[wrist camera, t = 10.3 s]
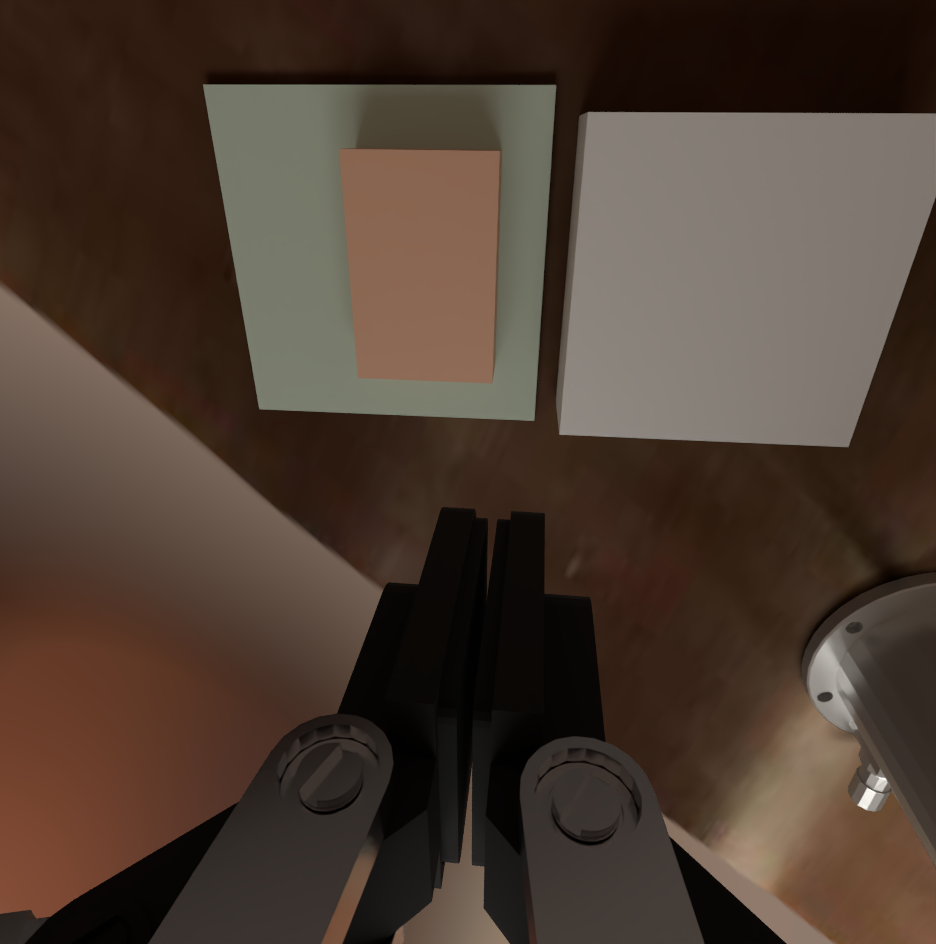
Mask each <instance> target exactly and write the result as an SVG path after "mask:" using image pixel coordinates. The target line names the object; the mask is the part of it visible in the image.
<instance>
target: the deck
mask: <svg viewBox="0 0 936 944" xmlns="http://www.w3.org/2000/svg"><path fill="white" fill-rule="evenodd" d="M935 197H936V114H913V113H693V112H587V113H585V114H582V115H580V116H579V126H578V138H577V151H576V163H575V175H574V187H573V199H572V211H571V223H570V235H569V247H568V259H567V271H566V283H565V295H564V307H563V319H562V331H561V343H560V355H559V367H558V379H557V391H556V406H557V416H558V426H559V434H560V435H583V436H606V437H628V438H651V439H674V440H697V441H720V442H742V443H765V444H788V445H811V446H834V447H848V446H849V444H850V441H851V438H852V435H853V432H854V429H855V426H856V423H857V421H858V418H859V415H860V412H861V409H862V406H863V403H864V401H865V398H866V395H867V392H868V389H869V386H870V383H871V381H872V378H873V375H874V372H875V369H876V366H877V363H878V360H879V358H880V355H881V352H882V349H883V346H884V343H885V340H886V338H887V335H888V332H889V329H890V326H891V323H892V320H893V318H894V315H895V312H896V309H897V306H898V303H899V300H900V298H901V295H902V292H903V289H904V286H905V283H906V280H907V277H908V275H909V272H910V269H911V266H912V263H913V260H914V257H915V255H916V252H917V249H918V246H919V243H920V240H921V237H922V235H923V232H924V229H925V226H926V223H927V220H928V217H929V214H930V212H931V209H932V206H933V203H934V200H935Z"/></svg>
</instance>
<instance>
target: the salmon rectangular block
mask: <svg viewBox="0 0 936 944" xmlns="http://www.w3.org/2000/svg"><path fill="white" fill-rule="evenodd" d="M339 155H340V167H341V179H342V191H343V203H344V216H345V228H346V240H347V252H348V264H349V276H350V288H351V301H352V313H353V325H354V337H355V349H356V361H357V373H358V378H370V379H394V380H418V381H443V382H467V383H491V384H492V383H493V376H494V370H495V356H496V326H497V296H498V266H499V237H500V207H501V177H502V150H474V149H398V148H346V149H339Z"/></svg>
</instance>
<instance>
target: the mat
mask: <svg viewBox="0 0 936 944" xmlns="http://www.w3.org/2000/svg"><path fill="white" fill-rule="evenodd" d="M203 87H204V93H205V98H206V104H207V110H208V116H209V122H210V127H211V133H212V139H213V145H214V150H215V156H216V162H217V168H218V173H219V179H220V185H221V191H222V196H223V202H224V208H225V214H226V219H227V225H228V231H229V237H230V242H231V248H232V254H233V260H234V265H235V271H236V277H237V283H238V288H239V294H240V300H241V306H242V311H243V317H244V323H245V329H246V334H247V340H248V346H249V352H250V357H251V363H252V369H253V375H254V380H255V386H256V392H257V398H258V403H259V409H269V410H293V411H317V412H340V413H364V414H387V415H411V416H435V417H458V418H482V419H505V420H529V421H534V416H535V401H536V386H537V371H538V355H539V340H540V325H541V310H542V294H543V279H544V264H545V249H546V233H547V218H548V203H549V188H550V172H551V157H552V142H553V127H554V111H555V96H556V85H203ZM346 148H398V149H474V150H502V177H501V207H500V237H499V266H498V296H497V326H496V356H495V370H494V376H493V383H492V384H491V383H467V382H443V381H418V380H394V379H370V378H358V373H357V361H356V349H355V337H354V325H353V313H352V301H351V288H350V276H349V264H348V252H347V240H346V228H345V216H344V203H343V191H342V179H341V167H340V155H339V149H346Z"/></svg>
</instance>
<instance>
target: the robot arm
mask: <svg viewBox="0 0 936 944" xmlns="http://www.w3.org/2000/svg"><path fill="white" fill-rule="evenodd" d="M487 544H488V519H487V518H476V511H475V509H467V508H450V507H442V508H441V511H440V514H439V518H438V521H437V524H436V528H435V531H434V534H433V538H432V541H431V544H430V548H429V551H428V555H427V558H426V561H425V565H424V568H423V571H422V575H421V578H420V581H419V585H417V584H403V583H390V582H389V583H388V584H387V585H386V586H385V588H384V590H383V592H382V595H381V598H380V601H379V603H378V606H377V609H376V611H375V614H374V617H373V620H372V622H371V625H370V627H369V630H368V633H367V635H366V638H365V641H364V643H363V646H362V649H361V651H360V654H359V657H358V659H357V662H356V665H355V667H354V670H353V673H352V675H351V678H350V681H349V684H348V686H347V689H346V692H345V694H344V697H343V699H342V702H341V705H340V707H339V710H338V713H337V714H332V715H327V716H320V717H317V718H314V719H312V720H310V721H307V722H305V723H302V724H300V725H299V726H297V727H296V728H295V729H293V730H292V731H290V732H289V733H288V734H286V735H285V736H284V737H283V738H282V739H281V740H280V741H279V743H278V744H277V745H276V746H275V748H274V749H273V750H272V751H271V752H270V754H269V755H268V757H267V759H266V760H265V762H264V763H263V765H262V766H261V768H260V769H259V771H258V773H257V774H256V776H255V777H254V779H253V780H252V782H251V784H250V785H249V787H248V788H247V790H246V791H245V793H244V794H243V796H242V798H241V799H240V801H239V802H238V803H236V804H234V805H232V806H231V807H229V808H227V809H226V810H224V811H222V812H221V813H219V814H217V815H216V816H214V817H212V818H211V819H209V820H207V821H206V822H204V823H202V824H200V825H199V826H197V827H195V828H194V829H192V830H190V831H189V832H187V833H185V834H184V835H182V836H180V837H179V838H177V839H175V840H174V841H172V842H170V843H169V844H167V845H166V846H164V847H162V848H160V849H158V850H157V851H155V852H153V853H152V854H150V855H148V856H147V857H145V858H143V859H142V860H140V861H138V862H137V863H135V864H133V865H132V866H130V867H128V868H126V869H125V870H123V871H121V872H120V873H118V874H116V875H115V876H113V877H111V878H110V879H108V880H106V881H105V882H103V883H101V884H100V885H98V886H96V887H94V888H93V889H91V890H89V891H88V892H86V893H85V894H83V895H81V896H79V897H78V898H76V899H74V900H73V901H71V902H70V903H69V904H67V905H66V906H65V907H63V908H62V909H60V910H59V911H58V912H57V913H55V914H54V915H52V916H51V917H45V918H38V919H36V917H35V916H34V914H33V913H32V911H31V910H27V911H19V912H11V913H4V914H0V944H402V943H403V940H404V935H405V930H406V924H407V922H408V921H409V920H410V919H411V918H413V916H415V915H416V914H417V913H419V912H420V911H421V910H422V909H423V908H424V907H426V906H427V905H428V904H429V903H430V902H431V901H432V897H433V890H434V888H439V889H441V886H442V879H443V871H444V865H445V862H450V863H459V862H460V857H461V850H462V842H463V834H464V825H465V817H466V809H467V801H468V793H469V784H470V776H471V768H472V865H475V866H484V867H485V872H484V876H485V877H484V909H485V910H486V912H487V913H488V914H489V916H490V917H491V919H492V920H493V921H494V922H495V924H496V925H497V926H498V928H499V929H500V931H501V932H502V933H503V935H504V936H505V937H506V939H507V940H508V941H509V943H510V944H786V943H785V942H784V941H783V940H782V939H781V938H780V937H779V936H777V935H776V934H775V933H774V932H773V931H772V930H771V929H770V928H769V927H768V926H767V925H765V924H764V923H763V922H762V921H761V920H760V919H759V918H758V917H757V916H756V915H755V914H753V913H752V912H751V911H750V910H749V909H748V908H747V907H746V906H745V905H744V904H743V903H742V902H740V901H739V900H738V899H737V898H736V897H735V896H734V895H733V894H732V893H731V892H729V891H728V890H727V889H726V888H725V887H724V886H723V885H722V884H721V883H720V882H719V881H717V880H716V879H715V878H714V877H713V876H712V875H711V874H710V873H709V872H708V871H707V870H706V869H704V868H703V867H702V866H701V865H700V864H699V863H698V862H697V861H696V860H695V859H694V858H692V857H691V856H690V855H689V854H688V853H687V852H686V851H685V850H684V849H683V848H682V847H680V846H679V845H678V844H677V843H676V842H675V841H674V840H673V839H672V838H670V836H669V835H668V832H667V829H666V826H665V822H664V819H663V816H662V813H661V810H660V807H659V804H658V801H657V798H656V795H655V792H654V790H653V788H652V786H651V784H650V782H649V780H648V778H647V776H646V774H645V772H644V771H643V770H642V769H641V768H640V767H639V766H638V765H637V764H636V762H635V761H634V760H633V759H632V758H631V757H630V756H628V755H627V754H625V753H624V752H622V751H621V750H619V749H618V748H616V747H615V746H613V745H611V744H608V743H606V742H605V734H604V724H603V714H602V704H601V694H600V684H599V674H598V664H597V654H596V644H595V634H594V625H593V615H592V605H591V600H590V597H581V596H568V595H554V594H544V545H545V514H544V513H534V512H517V511H511V520H504V519H498V521H497V528H496V535H495V543H494V550H493V558H492V565H491V573H490V580H489V588H488V595H487ZM486 599H487V603H486ZM802 680H803V683H804V686H805V689H806V692H807V694H808V695H809V697H810V699H811V701H812V703H813V705H814V706H815V708H816V709H817V711H818V712H819V713H820V714H821V715H822V716H823V717H824V718H825V719H826V720H827V721H829V722H830V723H832V724H833V725H835V726H836V727H838V728H840V729H842V730H844V731H847V732H849V733H851V734H854V735H855V736H856V738H857V740H858V742H859V744H860V746H861V749H860V752H859V757H860V761H861V763H862V765H861V766H860V767H858V768H857V770H856V772H855V774H854V776H853V778H852V780H851V782H850V784H849V786H848V793H849V795H850V797H851V799H852V800H853V801H854V802H855V803H856V804H857V805H858V806H860V807H862V808H864V809H866V810H869V811H874V812H875V811H878V810H881V809H882V807H883V805H884V803H885V801H886V800H887V798H888V796H889V794H890V793H891V791H893V793H894V794H895V796H896V798H897V800H898V802H899V803H900V805H901V807H902V809H903V811H904V812H905V814H906V816H907V818H908V820H909V821H910V823H911V825H912V827H913V828H914V830H915V832H916V834H917V836H918V837H919V839H920V841H921V843H922V845H923V846H924V848H925V850H926V852H927V854H928V855H929V857H930V859H931V861H932V863H933V864H934V866H935V868H936V572H931V573H925V574H920V575H914V576H909V577H904V578H901V579H898V580H895V581H891V582H888V583H885V584H882V585H880V586H877V587H875V588H873V589H871V590H869V591H867V592H864V593H862V594H860V595H858V596H857V597H855V598H854V599H852V600H851V601H849V602H847V603H846V604H844V605H843V606H841V607H840V608H839V609H838V610H836V611H835V612H834V613H833V614H832V615H831V616H830V617H828V618H827V619H826V620H825V621H824V622H823V623H822V625H821V626H820V627H819V628H818V630H817V631H816V632H815V633H814V634H813V636H812V638H811V640H810V642H809V644H808V646H807V648H806V649H805V653H804V657H803V661H802Z"/></svg>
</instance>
